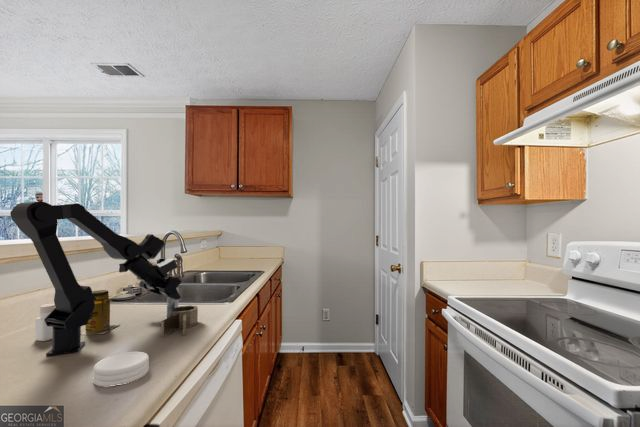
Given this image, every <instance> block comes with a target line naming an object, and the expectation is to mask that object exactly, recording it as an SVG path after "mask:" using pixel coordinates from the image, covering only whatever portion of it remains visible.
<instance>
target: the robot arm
mask: <svg viewBox="0 0 640 427" xmlns="http://www.w3.org/2000/svg"><path fill="white" fill-rule="evenodd" d="M10 217H11V220H12V221H13V222H14V224H15V226H16V227H17V228H18V229H19V231H21V233H23V234H24V235H25V236H26V237H28V238H29V239H30V240H31V242H32V243H33V244H32V245H33V246H34V247H35V250H36V252H37V255H38V257H39V258H40V261H41V262H42V266H44V269H45V272H46V274H47V275H48V278H49V280H50V281H51V282H50V283H51V284H52V286H53V288H54V291H55V292H54V297H53V302H54V303H53V304H55V309H54V310H53V311H52V312H51V313H50V314H49V315H48V316H47V317H46V318H45V319H44V321H45V323H46V325H47V326H51V327H53V331H52V339H51V343H52V344H51V349H50V350H48V352H46V353H45V356H46V357H47V356H54V355H63V354H70V353H76V352H77V353H78V352H79V351H80V350H81V349H82V347H83V346H84V345H85V344H86V341H81V340H82V339H81V337H82V334H81V333H82V331H81V330H82V329H81V328H82V327H83V326H86V325H87V323H88V320H89V317H90V315H91V313H92V311H93V309H94V308H95V302H94V300H96V298H95V297H94V296H93V294H92V291H93V290H92V288H91V286H87V285H81V284H79V282H78V281H77V278H76V276H75V273H74V271H73V268H72V266H71V264H70V263H69V261H68V260H69V259H68V257H67V255H66V253H65V251H64V249H63V247H62V244H61V242H60V240H59V237H58V235H57V230H58V224H59V223H58V220H69V221H70V222H71V223H72V224H73V225H75V226H77V227H78V228H79V229H80V230H82V231H83V232H85V233H86V234H88V236H90V237H91V238H93V239H94V240H95V241H97V242H98V243H99V244H100V245H101V246H102V248H103V250H104V252H105V253H106V254H107V255H108V256H109V257H110V258H112V259H113V260H121V261H122V260H123V261H124V260H125V262H123V263H119V264H118V266H119V269H118V272H119V273H120V274H121V273H126V272H128V271H129V272H131V273H132V274H133V275H134V276H136V279H137V280H138V281H140V282H139V287H140V288H141V289H142V290H143V291H144V290H145V291H148V290H149V293H153V294H158V295H160V296H164V297H167V296H168V297H171V298H175V299H178V301H179V300H180V299H181V295H180V293H178V291H177V289H176V288H179V285H180V284H181V283H182V282H183V280H182V279H181V278H180V277H178V276H175V275H169V274H168V273H170V272H172V271H173V270H175V269H178V263H177V261H176V260H175V258H172V257H171V258H170V257H169V258H163V257H159V258H158V259H156V257H157V256H158V255H159V254H160V253H161V251H162V250H163V249H164V248H165V247H166V243H165V242H164V240H163V239H161V238H159V237H157V236H155V235H154V234H153V233H151V234H150V233H148V234H147V235H146V236H145V237H144V238H143V240H142V241H141V242H140V243H139V244H138V243H137V242H136V241H133V240H132V239H130V238H128V237H126V236H123V235H120V234H118V233H117V232H115V231H113V230H112V229H111V228H110V227H108V226H107V225H106V224H105V223H103V221H101V220H99V219H98V218H97V216H94V215H93V214H92V212H89V211H88V210H87V209H86V208H85V206H84V205H82V204H80V203H78V202H77V203H75V202H74V203H65V204H55V205H54V204H53V205H52V204H50V203H48V202H46V201H40V200H39V201H26V202H19V203H17V204H16V205H14V206H13V208H12V209H11V211H10ZM150 259H151V260H154V259H156V264H153V263H152V262H150Z"/></svg>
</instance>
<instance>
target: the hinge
mask: <svg viewBox="0 0 640 427" xmlns="http://www.w3.org/2000/svg"><path fill="white" fill-rule="evenodd" d="M198 310H199V308H198V305H189V304H188V305H181V306H179V305H178V307H176V308H173V309H172V316H171V317H169V318H167V317H166V318H165V319H163V320H161V322H160V324H161V325H160V330H161V331H160V332H161V333H160V337H161V338H165V337H166V336H168V335H170V334H172V333H173V332H175V331H177V330H178V329H182V336H183V337H184V336H185V337H186V336H187V328H192V327H194V326H197V325H198V323H199V322H198V317H199V316H198V312H199V311H198Z"/></svg>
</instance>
